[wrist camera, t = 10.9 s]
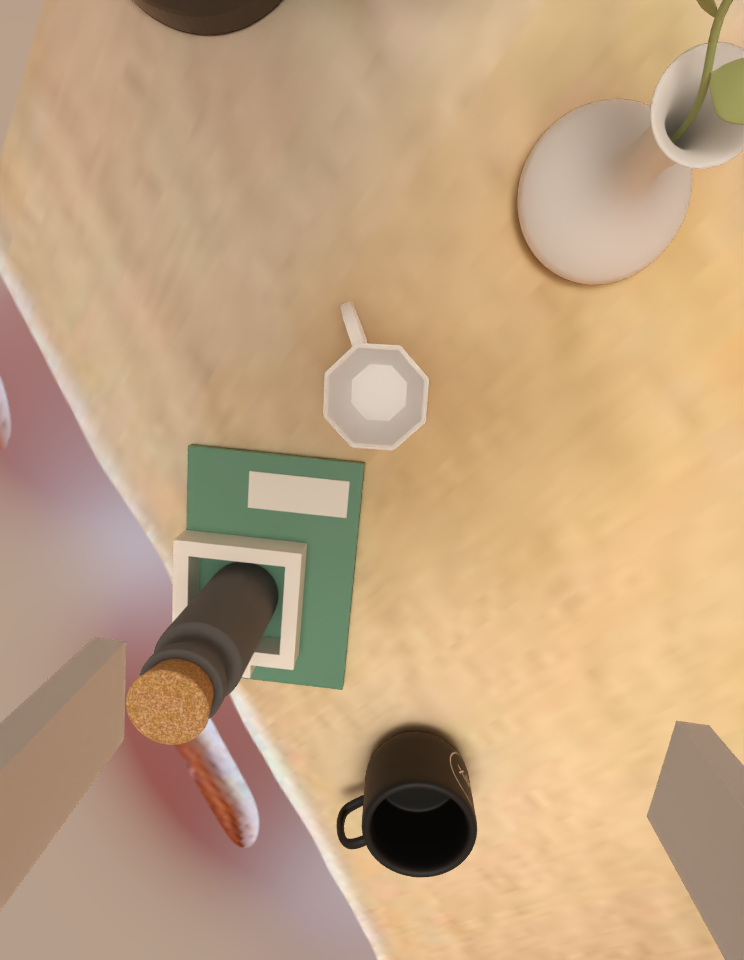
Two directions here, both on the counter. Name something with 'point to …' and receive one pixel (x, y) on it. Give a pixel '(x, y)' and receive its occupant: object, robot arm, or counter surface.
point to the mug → (415, 807)
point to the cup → (374, 391)
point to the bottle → (202, 654)
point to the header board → (277, 551)
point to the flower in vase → (632, 165)
